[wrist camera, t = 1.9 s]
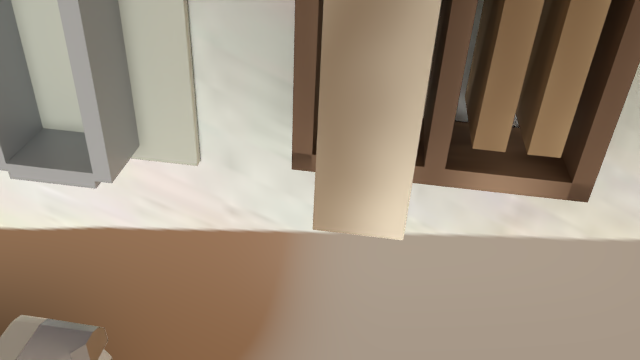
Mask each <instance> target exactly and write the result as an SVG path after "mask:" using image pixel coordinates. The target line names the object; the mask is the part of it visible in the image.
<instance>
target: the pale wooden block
mask: <svg viewBox="0 0 640 360" xmlns="http://www.w3.org/2000/svg"><path fill="white" fill-rule="evenodd" d="M440 6H441V0H324V4H323V25H322V46H321V67H320V88H319V109H318V130H317V151H316V172H315V193H314V214H313V230H321V231H330V232H338V233H346V234H355V235H363V236H371V237H379V238H388V239H396V240H403V237H404V231H405V225H406V219H407V213H408V206H409V200H410V194H411V188H412V181H413V175H414V169H415V163H416V156H417V150H418V144H419V138H420V131H421V125H422V119H423V113H424V106H425V100H426V94H427V88H428V81H429V75H430V69H431V63H432V56H433V50H434V44H435V38H436V31H437V25H438V19H439V13H440Z"/></svg>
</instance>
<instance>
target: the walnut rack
mask: <svg viewBox="0 0 640 360" xmlns="http://www.w3.org/2000/svg"><path fill="white" fill-rule="evenodd" d="M477 2H478V0H442V6H441V12H440V19H439V25H438V31H437V37H436V43H435V50H434V56H433V62H432V68H431V75H430V81H429V87H428V93H427V99H426V106H425V112H424V118H423V119H422V125H421V131H420V138H419V144H418V150H417V156H416V163H415V169H414V175H413V181H412V183H419V184H428V185H437V186H446V187H454V188H463V189H472V190H481V191H490V192H499V193H508V194H517V195H526V196H535V197H544V198H553V199H562V200H571V201H580V202H588V200H589V197H590V195H591V192H592V189H593V187H594V184H595V181H596V178H597V176H598V173H599V170H600V168H601V165H602V162H603V160H604V157H605V154H606V151H607V149H608V146H609V143H610V141H611V138H612V135H613V133H614V130H615V127H616V124H617V122H618V119H619V116H620V114H621V111H622V108H623V106H624V103H625V100H626V97H627V95H628V92H629V89H630V87H631V84H632V81H633V79H634V76H635V73H636V70H637V68H638V65H639V62H640V0H611V3H610V6H609V9H608V13H607V16H606V19H605V22H604V25H603V28H602V31H601V34H600V37H599V40H598V44H597V47H596V50H595V53H594V56H593V59H592V62H591V65H590V68H589V72H588V75H587V78H586V81H585V84H584V87H583V90H582V93H581V96H580V100H579V103H578V106H577V109H576V112H575V115H574V118H573V121H572V124H571V127H570V131H569V134H568V137H567V140H566V143H565V146H564V149H563V152H562V155H561V158H556V157H547V156H537V155H528V154H527V152H526V148H525V145H524V141H523V138H522V134H521V130H520V128H516V127H512V128H511V132H510V136H509V140H508V144H507V148H506V151H505V152H500V151H490V150H481V149H472V142H471V135H470V128H469V123H468V122H458V121H455V115H456V110H457V105H458V100H459V95H460V90H461V85H462V79H463V74H464V69H465V64H466V59H467V54H468V49H469V43H470V38H471V33H472V28H473V23H474V18H475V13H476V7H477ZM323 4H324V0H295V38H294V86H293V135H292V169H293V170H302V171H311V172H316V151H317V130H318V109H319V88H320V67H321V46H322V25H323Z"/></svg>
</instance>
